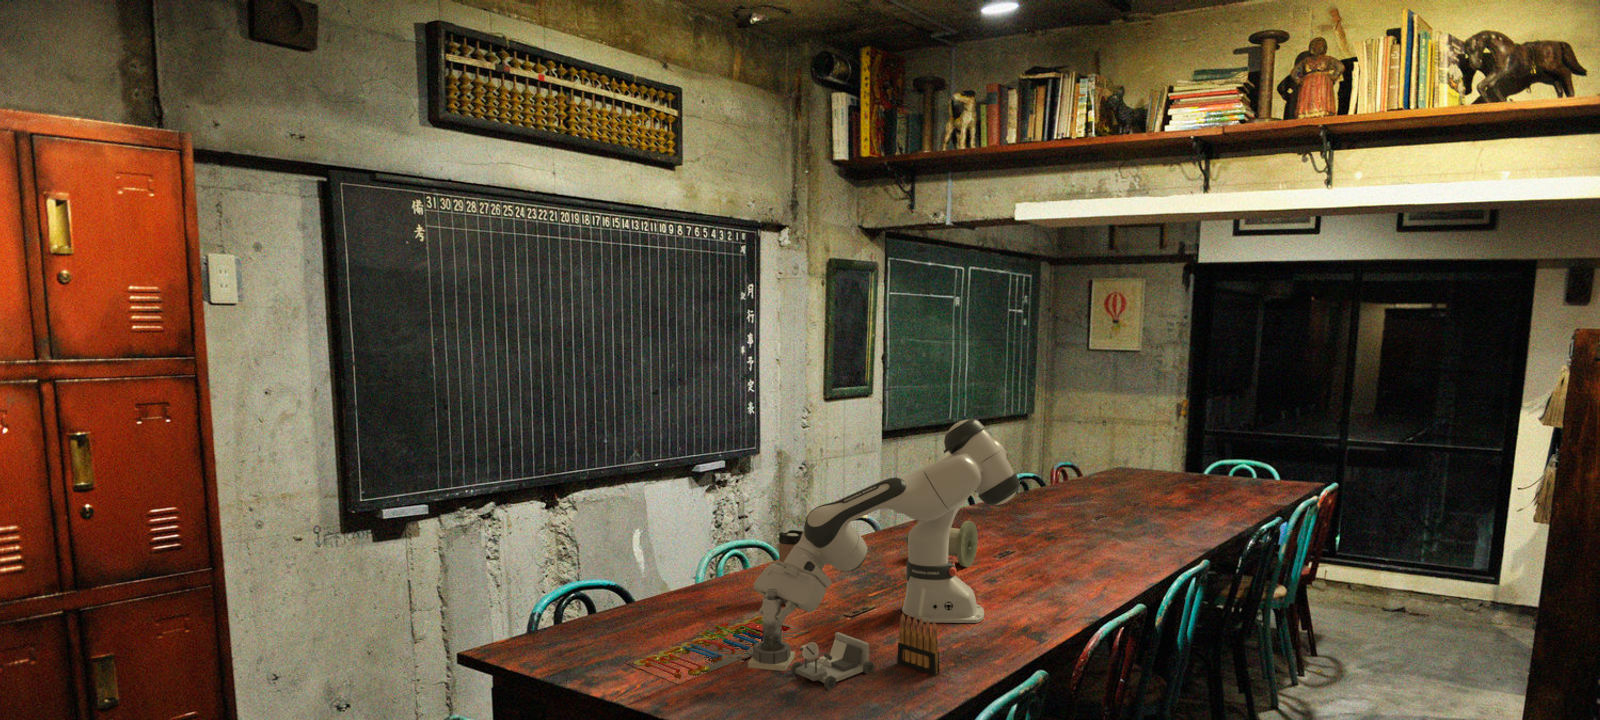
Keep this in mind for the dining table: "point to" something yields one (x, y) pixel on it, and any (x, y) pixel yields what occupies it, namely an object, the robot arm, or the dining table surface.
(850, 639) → the small toy car
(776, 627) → the grey peg
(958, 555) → the spool
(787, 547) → the travel mug
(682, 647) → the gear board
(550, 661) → the dining table surface
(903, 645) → the ammunition clip
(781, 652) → the socket plate
